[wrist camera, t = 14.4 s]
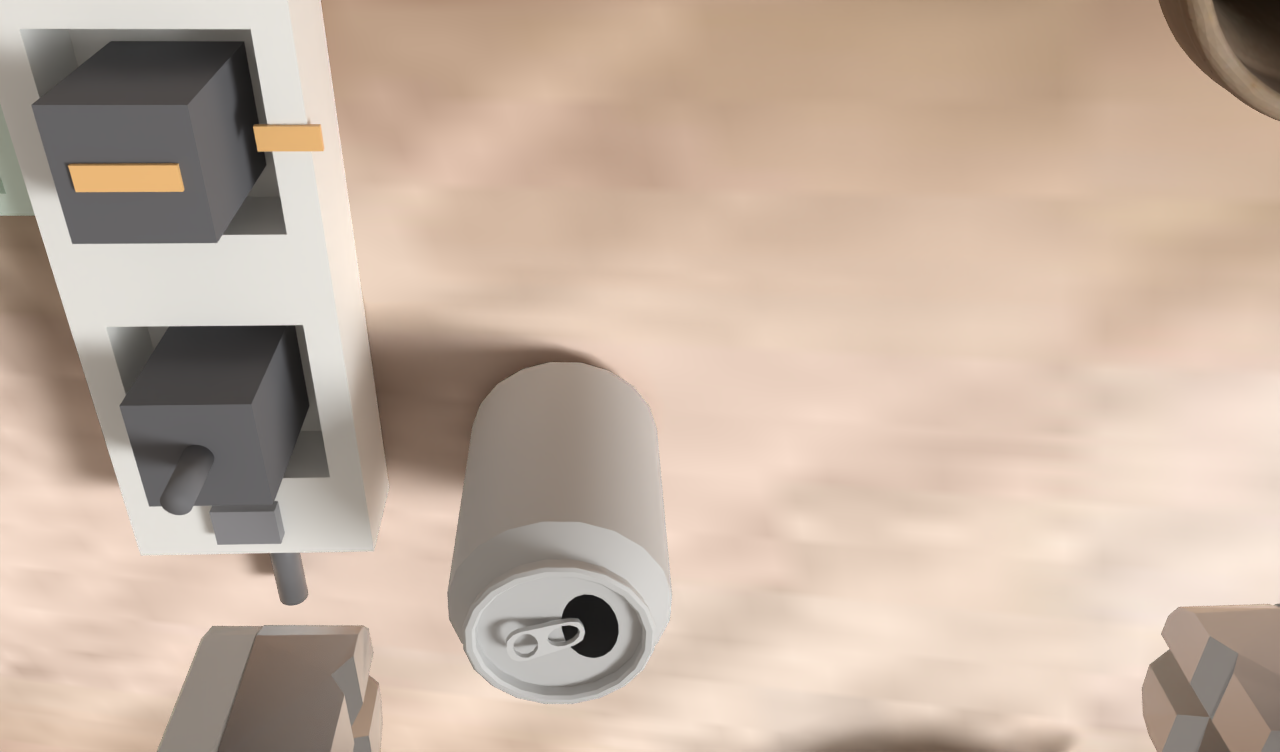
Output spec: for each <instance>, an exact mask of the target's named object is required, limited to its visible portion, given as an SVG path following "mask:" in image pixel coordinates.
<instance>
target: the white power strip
mask: <svg viewBox="0 0 1280 752" xmlns="http://www.w3.org/2000/svg"><path fill="white" fill-rule="evenodd" d="M110 41H244V43H245V49H246V54H247V60H248V65H249V71H250V76H251V82H252V87H253V93H254V98H255V104H256V109H257V115H258V120H259V124H255V125H254V126H253V129H254V134H255V140H256V145H257V151H258V152H264V153H265V159H266V167H265V168H264V170H263V172H262V173H261V175H260V176H259V178H258V179H257V181H256V183H255V184H254V186H253V187H252V189H251V191H250V192H249V194H248V195H247V197H246V198H245V200H244V202H243V203H242V205H241V206H240V208H239V210H238V211H237V213H236V214H235V216H234V217H233V219H232V221H231V222H230V224H229V225H228V227H227V229H226V230H225V232H224V233H223V235H222V236H221V238H220V240H219V241H218V243H154V244H72V242H71V238H70V235H69V231H68V228H67V225H66V221H65V218H64V214H63V211H62V208H61V204H60V201H59V198H58V194H57V191H56V187H55V184H54V181H53V177H52V174H51V170H50V167H49V164H48V160H47V157H46V153H45V150H44V147H43V143H42V140H41V137H40V133H39V130H38V126H37V123H36V120H35V116H34V113H33V109H32V106H31V105H32V104H33V103H34V102H36V101H37V100H38V99H39V98H40V97H42V96H43V95H44V94H45V93H47V92H48V91H49V90H50V89H52V88H53V87H54V86H55V85H57V84H58V83H59V82H60V81H62V80H63V79H64V78H65V77H67V76H68V75H69V74H70V73H72V72H73V71H74V70H75V69H77V68H78V67H79V66H80V65H82V64H83V63H84V62H85V61H86V60H88V59H89V58H90V57H91V56H93V55H94V54H95V53H96V52H98V51H99V50H100V49H101V48H103V47H104V46H105V45H106V44H108V43H109V42H110ZM0 105H1V108H2V111H3V114H4V117H5V121H6V124H7V127H8V130H9V133H10V137H11V140H12V143H13V146H14V149H15V153H16V156H17V159H18V162H19V166H20V169H21V172H22V175H23V178H24V182H25V185H26V188H27V191H28V194H29V198H30V201H31V204H32V207H33V211H34V214H35V217H36V220H37V223H38V227H39V230H40V233H41V236H42V239H43V243H44V246H45V249H46V252H47V255H48V259H49V262H50V265H51V268H52V272H53V275H54V278H55V281H56V284H57V288H58V291H59V294H60V297H61V300H62V304H63V307H64V310H65V313H66V317H67V320H68V323H69V326H70V329H71V333H72V336H73V339H74V342H75V345H76V349H77V352H78V355H79V358H80V361H81V365H82V368H83V371H84V374H85V378H86V381H87V384H88V387H89V390H90V394H91V397H92V400H93V403H94V406H95V410H96V413H97V416H98V419H99V423H100V426H101V429H102V432H103V435H104V439H105V442H106V445H107V448H108V451H109V455H110V458H111V461H112V464H113V467H114V471H115V474H116V477H117V480H118V484H119V487H120V490H121V493H122V496H123V500H124V503H125V506H126V509H127V512H128V516H129V519H130V522H131V525H132V529H133V532H134V535H135V538H136V541H137V545H138V548H139V551H140V554H141V555H188V554H245V553H270V558H271V562H272V567H273V571H274V575H275V580H276V584H277V589H278V593H279V598H280V601H281V602H282V603H283V604H285V605H297V604H300V603H301V602H303V601H304V600H305V599H306V598H307V596H308V589H307V585H306V580H305V575H304V570H303V565H302V560H301V555H300V553H302V552H359V551H374V550H375V545H376V541H377V537H378V533H379V529H380V524H381V520H382V516H383V512H384V507H385V503H386V499H387V495H388V491H389V481H388V474H387V467H386V460H385V453H384V446H383V439H382V432H381V424H380V417H379V410H378V403H377V396H376V389H375V382H374V375H373V368H372V361H371V354H370V346H369V339H368V332H367V325H366V318H365V311H364V304H363V297H362V290H361V283H360V275H359V268H358V261H357V254H356V247H355V240H354V233H353V226H352V219H351V212H350V205H349V197H348V190H347V183H346V176H345V169H344V162H343V155H342V148H341V141H340V134H339V127H338V119H337V112H336V105H335V98H334V91H333V84H332V77H331V70H330V63H329V56H328V49H327V41H326V34H325V27H324V20H323V13H322V6H321V0H0ZM254 325H295V328H296V334H297V339H298V345H299V350H300V356H301V361H302V367H303V372H304V378H305V383H306V389H307V394H308V400H309V405H310V406H309V409H308V412H307V414H306V417H305V420H304V422H303V425H302V428H301V431H300V433H299V436H298V439H297V441H296V444H295V447H294V450H293V452H292V455H291V458H290V460H289V463H288V466H287V468H286V471H285V474H284V477H283V479H282V482H281V485H280V487H279V490H278V493H277V495H276V498H275V501H274V504H273V505H220V506H193V508H192V510H191V511H190V512H189V513H187V514H185V515H174V514H171V513H169V512H167V511H165V510H164V509H163V508H162V506H156V507H149V504H148V501H147V498H146V494H145V491H144V488H143V484H142V481H141V477H140V474H139V471H138V467H137V464H136V461H135V457H134V454H133V450H132V447H131V444H130V440H129V437H128V434H127V430H126V427H125V423H124V420H123V417H122V413H121V410H120V407H119V405H120V404H121V402H122V401H123V399H124V397H125V396H126V394H127V393H128V391H129V389H130V388H131V386H132V385H133V383H134V381H135V380H136V378H137V377H138V375H139V373H140V372H141V370H142V369H143V367H144V365H145V364H146V362H147V361H148V359H149V357H150V356H151V354H152V353H153V351H154V349H155V348H156V346H157V345H158V343H159V341H160V340H161V338H162V337H163V335H164V333H165V332H166V330H167V329H168V327H169V326H254Z"/></svg>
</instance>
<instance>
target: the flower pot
mask: <svg viewBox="0 0 1280 752" xmlns="http://www.w3.org/2000/svg"><path fill="white" fill-rule="evenodd" d="M1159 3H1160V6H1161V9H1162V12H1163V14H1164V17H1165V19H1166V21H1167V23H1168V26H1169V28H1170V30H1171V32H1172V33H1173V35H1174V37H1175V39H1176V41H1177V42H1178V43H1179V45H1180V46H1181V48H1182V49H1183V50H1184V51H1185V53H1186V54H1187V55H1188V56H1189V58H1190V59H1191V60H1192V61H1193V62H1194V63H1195V64H1196V65H1197V66H1198V67H1199V68H1200V69H1201V70H1202V71H1203V72H1204V73H1205V74H1207V75H1208V76H1209V77H1210V78H1211V79H1212V80H1214V81H1215V82H1216V83H1218V84H1219V85H1220V86H1222V87H1223V88H1225V89H1226V90H1227V91H1229V92H1230V93H1231V94H1233V95H1234V96H1235V97H1237V98H1238V99H1239V100H1240V101H1242V102H1243V103H1245V104H1246V105H1248V106H1250V107H1251V108H1253V109H1255V110H1256V111H1258V112H1260V113H1262V114H1264V115H1266V116H1269V117H1271V118H1273V119H1275V120H1278V121H1280V0H1159Z"/></svg>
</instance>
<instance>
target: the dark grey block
mask: <svg viewBox="0 0 1280 752" xmlns="http://www.w3.org/2000/svg"><path fill="white" fill-rule="evenodd" d="M31 106H32V109H33V113H34V116H35V120H36V123H37V126H38V130H39V133H40V137H41V140H42V143H43V147H44V150H45V153H46V157H47V160H48V164H49V167H50V170H51V174H52V177H53V181H54V184H55V187H56V191H57V194H58V198H59V201H60V204H61V208H62V211H63V214H64V218H65V221H66V225H67V228H68V231H69V235H70V238H71V242H72V244H154V243H218V241H219V240H220V238H221V236H222V235H223V233H224V232H225V230H226V229H227V227H228V225H229V224H230V222H231V221H232V219H233V217H234V216H235V214H236V213H237V211H238V210H239V208H240V206H241V205H242V203H243V202H244V200H245V198H246V197H247V195H248V194H249V192H250V191H251V189H252V187H253V186H254V184H255V183H256V181H257V179H258V178H259V176H260V175H261V173H262V172H263V170H264V168H265V167H266V159H265V153H264V152H258V151H257V145H256V140H255V134H254V129H253V126H254V125H255V124H259V120H258V115H257V109H256V104H255V98H254V93H253V87H252V82H251V76H250V71H249V65H248V60H247V54H246V49H245V43H244V41H110V42H109V43H108V44H106V45H105V46H104V47H103V48H101V49H100V50H99V51H98V52H96V53H95V54H94V55H93V56H91V57H90V58H89V59H88V60H86V61H85V62H84V63H83V64H82V65H80V66H79V67H78V68H77V69H75V70H74V71H73V72H72V73H70V74H69V75H68V76H67V77H65V78H64V79H63V80H62V81H60V82H59V83H58V84H57V85H55V86H54V87H53V88H52V89H50V90H49V91H48V92H47V93H45V94H44V95H43V96H42V97H40V98H39V99H38V100H37V101H36V102H34V103H33V104H32V105H31Z"/></svg>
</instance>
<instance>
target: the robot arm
mask: <svg viewBox="0 0 1280 752" xmlns="http://www.w3.org/2000/svg"><path fill="white" fill-rule="evenodd" d="M1161 635H1162V636H1163V638H1164V640H1165V642H1166V643H1167V645H1168V647H1169V650H1168V651H1167V652H1165V653H1164V654H1163V655H1162V656H1160V657H1159V658H1158V659H1156V660H1155V661H1154V662H1153V663H1151V664H1150V665H1149V668H1148V671H1147V674H1146V677H1145V680H1144V683H1143V687H1142V702H1143V716H1144V720H1145V723H1146V727H1147V730H1148V733H1149V736H1150V738H1151V740H1152V742H1153V744H1154V746H1155V748H1156V750H1157V752H1280V604H1275V605H1270V604H1253V605H1222V606H1191V607H1178V608H1177V609H1176V610H1175V611H1173V612H1172V613H1171V614H1170V615H1169V616H1168V618H1167V621H1166V623H1165V626H1164V628H1163V631H1162V633H1161ZM372 657H373V647H372V642H371V638H370V633H369V628H367V627H365V626H328V625H264V626H212V627H211V628H210V630H209V631H208V632H207V633H206V634H205V635H204V636H203V638H202V639H201V641H200V643H199V646H198V648H197V651H196V653H195V656H194V659H193V661H192V664H191V666H190V669H189V671H188V674H187V676H186V679H185V681H184V684H183V686H182V689H181V691H180V694H179V696H178V699H177V701H176V704H175V706H174V709H173V711H172V714H171V717H170V719H169V722H168V724H167V727H166V729H165V732H164V734H163V737H162V739H161V742H160V744H159V747H158V749H157V752H381V740H382V725H383V720H382V701H381V694H380V688H379V683H378V682H377V681H375V680H374V679H373V678H372V677H371V676H369V672H370V667H371V662H372Z"/></svg>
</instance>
